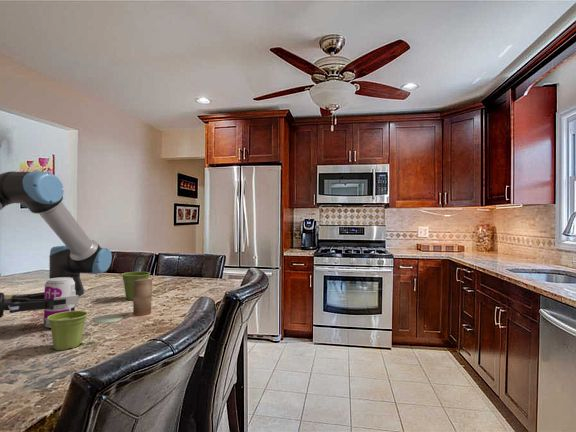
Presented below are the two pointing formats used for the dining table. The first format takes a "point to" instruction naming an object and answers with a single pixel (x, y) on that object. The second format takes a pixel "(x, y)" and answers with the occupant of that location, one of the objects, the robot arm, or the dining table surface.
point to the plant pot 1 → (67, 328)
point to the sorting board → (116, 317)
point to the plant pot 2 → (132, 282)
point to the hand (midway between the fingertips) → (76, 296)
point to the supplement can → (58, 295)
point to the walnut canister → (142, 297)
